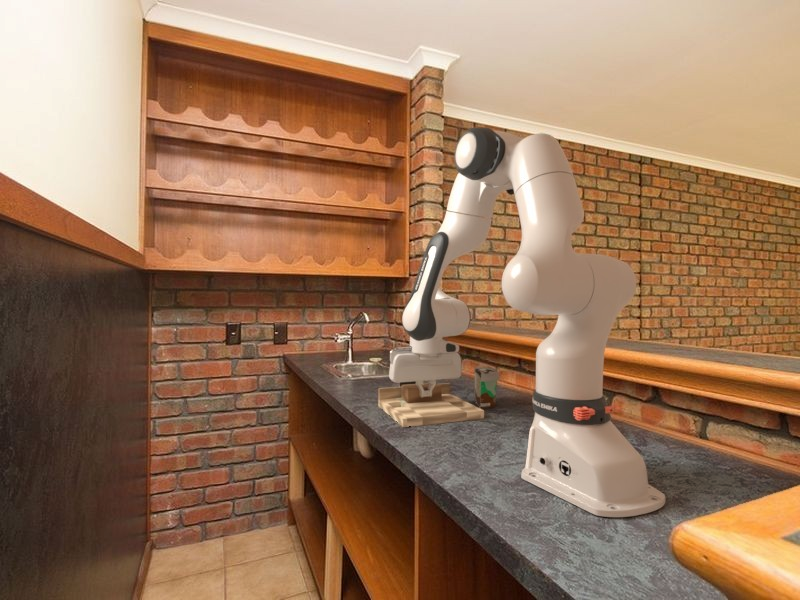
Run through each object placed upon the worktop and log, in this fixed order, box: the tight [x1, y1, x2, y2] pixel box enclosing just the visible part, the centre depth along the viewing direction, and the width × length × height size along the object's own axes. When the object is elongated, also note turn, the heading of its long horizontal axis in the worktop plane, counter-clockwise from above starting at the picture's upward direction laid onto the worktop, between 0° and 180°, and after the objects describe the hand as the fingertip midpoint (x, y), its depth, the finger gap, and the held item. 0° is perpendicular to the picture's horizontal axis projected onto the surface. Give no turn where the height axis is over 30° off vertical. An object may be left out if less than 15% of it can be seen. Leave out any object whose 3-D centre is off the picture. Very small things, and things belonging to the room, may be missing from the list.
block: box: [402, 382, 442, 403], centre depth 118 cm, size 5×10×4 cm, turn 110°
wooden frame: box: [377, 382, 485, 428], centre depth 113 cm, size 20×22×5 cm
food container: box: [473, 366, 500, 410], centre depth 120 cm, size 12×6×10 cm, turn 179°
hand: (425, 396), depth 114 cm, fingers closed
